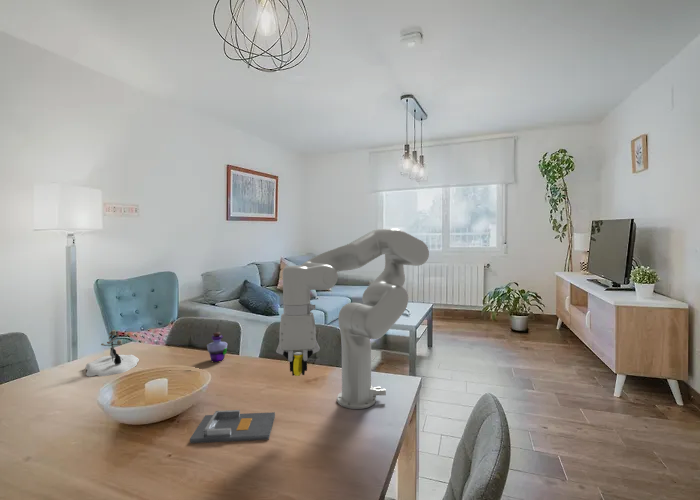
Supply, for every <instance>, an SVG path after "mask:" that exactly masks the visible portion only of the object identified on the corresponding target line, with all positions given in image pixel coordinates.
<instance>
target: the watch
mask: <svg viewBox="0 0 700 500" xmlns="http://www.w3.org/2000/svg"><path fill="white" fill-rule="evenodd" d="M293 356H294V365H293V371H294V376H295V377H300V376H301V375H302V358H303V352H300V351H299V352H298V351H297V352H293Z"/></svg>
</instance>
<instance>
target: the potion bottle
mask: <svg viewBox="0 0 700 500" xmlns="http://www.w3.org/2000/svg"><path fill="white" fill-rule="evenodd" d="M211 340H212V341H213V342H210V343H208V344H206V347H207V352H208V353H209V357H210V362H211V361H213V362H212V363H219V362H218V361H221V362H223V361H224V360H225V356H226V354H227V352H228V342H227V341H222V340H223V334H221V331H216V332H213V334H212V335H211ZM223 359H224V360H223ZM222 360H223V361H222Z"/></svg>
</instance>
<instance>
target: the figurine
mask: <svg viewBox="0 0 700 500" xmlns="http://www.w3.org/2000/svg"><path fill="white" fill-rule="evenodd" d="M108 335H109V337H108V341H106V343H107V344H104V343H101V344H100V346H105V347H110V348H109V349H110V352H109V355H106V356H105V355H103V356H101V357H98V358H97V359H95V360H93V361H90V362H88V363H87V364H85V369H86V370H87V371H86V373H85V375H86V377H94V376H99V377H106V376H112V375H118V374H123V373H126V372H127V371H129V370H132V369H133V368H134V367H137V365H138V363H139V360H140V359H139V358H138V357H137V356H135V355H133V354H118V353H117V350H116V349H115V347H114V346H123V340H122V339H118V340H117V341H116V343H114V342H115V340H116V339H117V338H119V337H120V335H119V334H117V331H116V329H113V330H111V331H109V332H108ZM114 336H115V337H114ZM113 337H114V338H113Z"/></svg>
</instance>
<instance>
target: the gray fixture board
mask: <svg viewBox="0 0 700 500" xmlns="http://www.w3.org/2000/svg"><path fill="white" fill-rule="evenodd" d="M275 418H276V412H275V411H274V412H272V411H271V412H253V413H252V412H251V413H248V412H247V413H241V410H240V409H233V410H227V409H226V410H215V411H214V413H213V414H205V415H204V417H203V418H202V420H201V422H200V423H199V424H198V425H197V427H196V429H195V430H194V431H193V433H192V435H191V437H190V438H189V443H190V444H203V443H205V444H207V443H222V442H223V443H225V442H228V443H229V442H245V441H264V440H265V441H268V440H270V436H271V433H272V429H273V425H274V421H275Z"/></svg>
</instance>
